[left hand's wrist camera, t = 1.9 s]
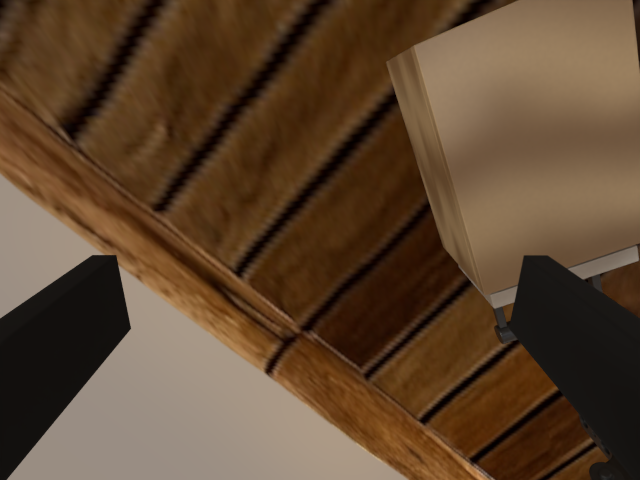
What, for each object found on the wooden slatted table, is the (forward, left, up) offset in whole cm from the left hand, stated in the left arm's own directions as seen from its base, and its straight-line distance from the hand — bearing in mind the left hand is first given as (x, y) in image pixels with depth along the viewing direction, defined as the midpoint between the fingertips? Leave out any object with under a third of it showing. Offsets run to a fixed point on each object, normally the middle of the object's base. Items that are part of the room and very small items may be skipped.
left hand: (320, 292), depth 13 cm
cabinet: (-11, +8, -21) cm, 25 cm away
